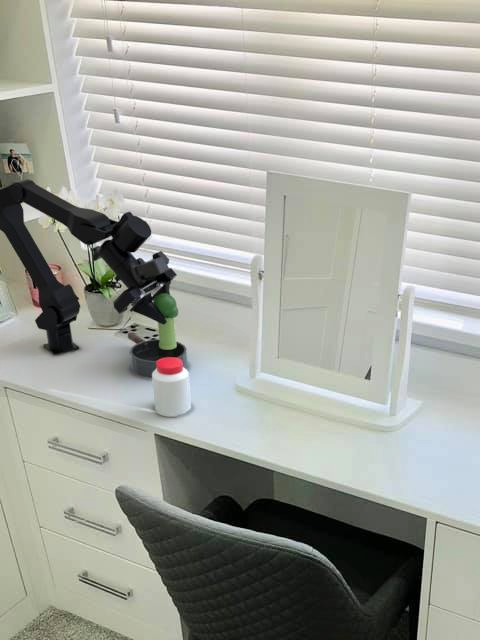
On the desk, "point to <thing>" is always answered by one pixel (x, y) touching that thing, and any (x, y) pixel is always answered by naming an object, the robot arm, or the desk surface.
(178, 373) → the pill bottle
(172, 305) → the broccoli
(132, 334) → the pan handle
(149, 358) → the pan
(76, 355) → the desk surface
